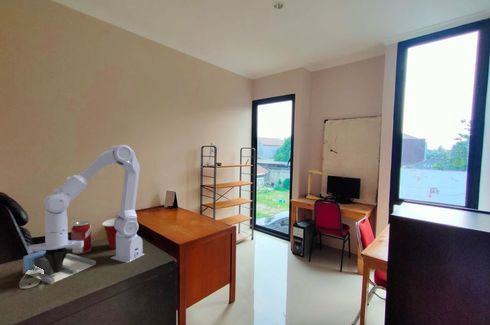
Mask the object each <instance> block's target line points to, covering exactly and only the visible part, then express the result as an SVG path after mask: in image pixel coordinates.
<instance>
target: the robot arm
mask: <svg viewBox="0 0 490 325" xmlns="http://www.w3.org/2000/svg"><path fill="white" fill-rule="evenodd" d="M112 164H113V165H114V164H118V165H119V166H120V167H121V168H122V169H123V170H124V176H123V183H122V194H121V201H120V209H119V211H118V212H117V217H116V218H117V219H116V220H115V222H114V228H115V229H116V230H117V233H116V249H115V255H113V256H111V257H110V259H112V260H116V261H120V262H123V263H131V262H132V261H134V260H136V259H138V258H140V257H142V256H144V255H145V253H143V251H144V250H143V248H144V247H143V244H144V243H143V242H144V241H143V238H142V237H141V236H139V235H138V234H137V232H138V231H139V226H140V225H139V223H138V215H137V212H136V203H137V196H138V188H139V187H138V186H139V177H140V169H141V165H140V163H139V161H138V159H137V157H136V153H135V151H134V150H133V148H131V147H130V146H129V145H127V144H119V145H116V144H115V145H112V146H110V147H109V148H108V149H106V150H105V151H103V152H102V153H101V154H100V155H99V156H98V157H96V159H94V160H93V161H92V162H91V163H90V164H89V165H88V166H87V167H85V169H84V170H83V171H82V172H81V173H80V174H74V175H73V174H72V176H67V177H66V178H65V179H64V180H65V182H63V184H61V185H60V186H58V188H57V189H56V188H54V189H53V190H52V192H53V193H50V194H48V195H47V196H46V197H45V198H44V200H43V206H44V207H45V218H44V232H45V233H44V237H45V238H44V239H45V240H44V242H42V243H38V244H37V243H36V244H31V245H29V246H28V247H27V248H28V249H27V252H28V254H33V253H36V252H40V251H46V253H45V254H44V257H45V258H46V259H47V260H48V261H49V263H50V265H51V267H52V269H53V273H58V272H59V271H60V270H61V268H62V264H63V261H64V258H66V254H68V252H69V250H70V249H72V248H82V247H83V246H84V241H72V239H71V240H70V239H69V233H68V232H69V227H68V226H69V225H68V224H69V223H68V213H67V212H68V208H69V206H70V202H72V201H74V199H76V198H77V197H79V195H80V194H81V193H82V192H83V191H84V190H85V189H86V188H88V185H89V184H88V182H89V180H90V179H92V178H93V177H94V176H95V175H96V174H98V173H99V172H100V171H101V170H103V168H105V167H106V166H108V165H112Z"/></svg>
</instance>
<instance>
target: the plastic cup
mask: <svg viewBox="0 0 490 325" xmlns="http://www.w3.org/2000/svg"><path fill="white" fill-rule="evenodd" d="M116 219H117V217H116V218H115V217H114V218H111V219H107V220H105V221H103V222H102V223H101V225H102V227H104V230H105V234H106V237H107V238H106V239H107V242H108V246H109V249H110V250H116V233H117V230H116V229H115V228H114V222H115V220H116Z"/></svg>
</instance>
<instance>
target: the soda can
mask: <svg viewBox="0 0 490 325" xmlns="http://www.w3.org/2000/svg"><path fill="white" fill-rule="evenodd" d="M70 230H71V241H84V246H83V247H82V248H71V254H73V255H79V254H84V253H88V252H90V251H91V250H92V249H93V244H92V243H93V242H92V240H93V238H92V237H93V236H92V230H93V229H92V225H91V224H90V221H86V220H84V221H77V222H75V223H73V226H72V227H71V229H70Z"/></svg>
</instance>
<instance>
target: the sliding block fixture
mask: <svg viewBox="0 0 490 325" xmlns="http://www.w3.org/2000/svg"><path fill="white" fill-rule="evenodd" d="M45 253H46V251H36V252H32V253H29V254H27V255H24V256H23V269H22V274H24V273H26V272H27V271H28V270H32V269H34V259H35V258H38V257H41V256H44V254H45ZM96 264H97V261H96V260H94V259H91V258H86V257H84V256H83V257H82V256H79V255H78V254H74V253H68V252H67V254H66V256H65V258H64V261H63V264H62V268H61V271H60V272H58V273H55V274H53V275H50V276H48V275H46V274H41V273H39V274H38V276H39V277H40V278H41V280H40V281H41V282H45V283H47V284H50V285H51V284H54V283H56V282H58V281H61V280H64V279H65V278H68V277H71V276H73V275H75V274H77V273H79V272H81V271H84V270H86V269H89V268H91V267H93V266H95V265H96Z"/></svg>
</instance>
